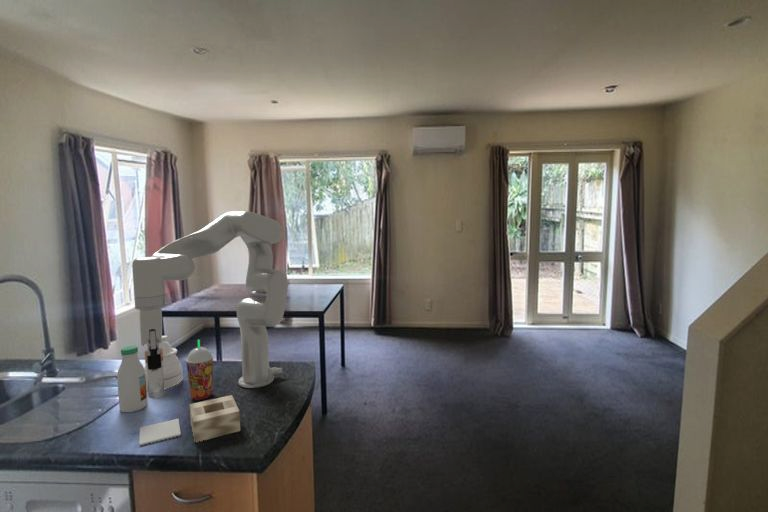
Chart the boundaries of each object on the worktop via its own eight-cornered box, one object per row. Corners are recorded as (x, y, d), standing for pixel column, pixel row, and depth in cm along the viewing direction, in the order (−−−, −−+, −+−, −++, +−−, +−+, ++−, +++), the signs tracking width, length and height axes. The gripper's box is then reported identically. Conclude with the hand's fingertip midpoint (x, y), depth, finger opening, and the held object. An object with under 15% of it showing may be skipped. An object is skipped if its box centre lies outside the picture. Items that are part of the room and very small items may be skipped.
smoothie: (182, 399, 136) (179, 342, 134) (201, 389, 144) (198, 335, 142) (202, 403, 133) (198, 344, 131) (220, 393, 141) (217, 337, 139)
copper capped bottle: (147, 394, 115) (144, 349, 114) (165, 390, 117) (162, 347, 116) (147, 400, 111) (144, 354, 110) (165, 396, 114) (162, 351, 112)
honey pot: (190, 380, 153) (187, 333, 151) (156, 393, 142) (152, 343, 140) (170, 373, 159) (167, 329, 157) (136, 385, 148) (132, 338, 146)
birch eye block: (232, 413, 127) (231, 394, 126) (240, 430, 116) (239, 410, 116) (190, 423, 121) (189, 404, 120) (194, 442, 110) (193, 422, 110)
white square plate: (178, 420, 123) (178, 418, 123) (180, 435, 114) (180, 433, 114) (140, 429, 118) (140, 427, 118) (139, 446, 109) (139, 444, 109)
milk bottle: (134, 414, 127) (129, 352, 125) (113, 412, 128) (108, 351, 126) (153, 403, 134) (148, 344, 132) (133, 401, 136) (128, 343, 134)
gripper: (135, 298, 117) (139, 359, 119) (133, 309, 103) (138, 378, 104) (164, 295, 121) (168, 354, 123) (167, 305, 106) (171, 372, 108)
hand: (154, 364), depth 114 cm, fingers closed on copper capped bottle, 4 cm apart
